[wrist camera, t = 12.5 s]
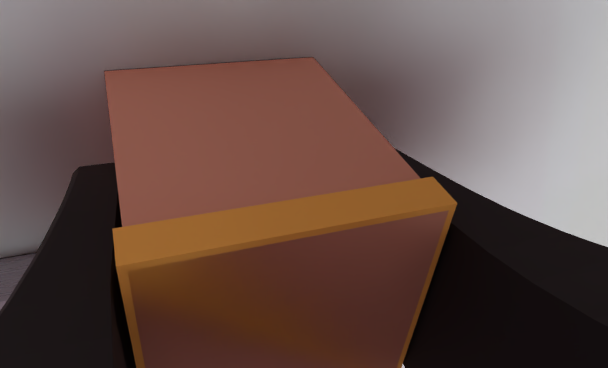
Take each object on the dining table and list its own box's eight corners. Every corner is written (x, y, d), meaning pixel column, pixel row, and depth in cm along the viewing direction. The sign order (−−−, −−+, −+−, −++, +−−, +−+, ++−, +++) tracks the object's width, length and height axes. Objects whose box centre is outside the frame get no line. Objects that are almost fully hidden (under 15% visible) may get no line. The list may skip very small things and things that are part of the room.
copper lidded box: (301, 210, 13) (395, 384, 9) (127, 240, 11) (154, 458, 8) (318, 52, 10) (457, 203, 7) (97, 66, 9) (116, 267, 5)
